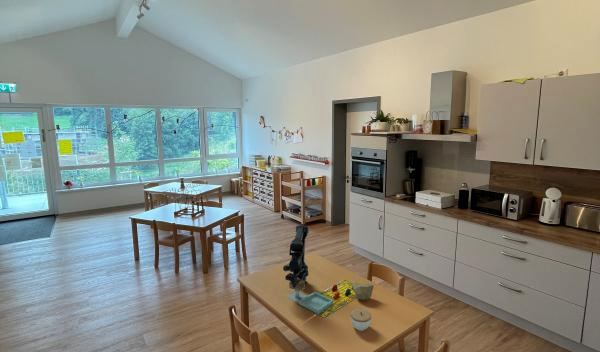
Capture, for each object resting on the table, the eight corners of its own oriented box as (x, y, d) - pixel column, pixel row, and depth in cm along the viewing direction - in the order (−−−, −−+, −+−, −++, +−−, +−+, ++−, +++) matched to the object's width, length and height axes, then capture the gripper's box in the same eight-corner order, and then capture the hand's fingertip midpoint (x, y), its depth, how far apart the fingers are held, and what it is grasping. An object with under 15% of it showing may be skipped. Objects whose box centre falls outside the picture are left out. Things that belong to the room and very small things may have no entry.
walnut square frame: (295, 283, 213) (295, 277, 213) (307, 286, 209) (307, 280, 208) (289, 288, 207) (289, 282, 207) (301, 291, 203) (301, 285, 202)
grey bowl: (375, 303, 203) (376, 286, 212) (370, 292, 198) (371, 276, 207) (352, 304, 210) (354, 288, 218) (346, 294, 204) (348, 278, 213)
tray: (314, 295, 213) (314, 291, 212) (333, 303, 203) (333, 300, 202) (298, 304, 202) (298, 301, 201) (317, 314, 192) (318, 310, 191)
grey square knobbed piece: (296, 291, 217) (296, 283, 216) (308, 297, 210) (308, 288, 209) (286, 297, 210) (285, 289, 209) (297, 303, 203) (297, 295, 202)
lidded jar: (348, 321, 185) (348, 306, 183) (367, 320, 186) (368, 305, 184) (353, 334, 174) (353, 318, 173) (373, 333, 175) (373, 317, 174)
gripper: (293, 253, 217) (293, 275, 220) (277, 264, 201) (278, 288, 204) (308, 257, 212) (308, 279, 215) (293, 268, 196) (293, 293, 199)
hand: (297, 285), depth 208 cm, fingers closed on walnut square frame, 7 cm apart
